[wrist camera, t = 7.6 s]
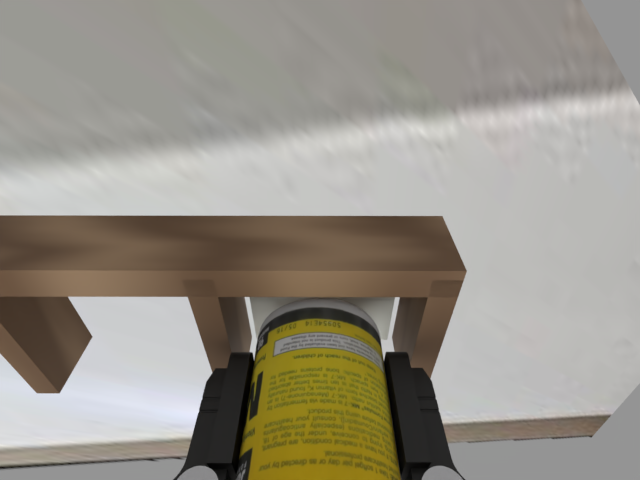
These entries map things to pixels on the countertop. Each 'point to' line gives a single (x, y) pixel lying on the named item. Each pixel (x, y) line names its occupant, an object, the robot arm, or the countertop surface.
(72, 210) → the countertop surface
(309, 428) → the supplement bottle
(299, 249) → the wooden slotted rack
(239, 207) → the countertop surface
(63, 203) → the countertop surface
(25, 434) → the countertop surface
